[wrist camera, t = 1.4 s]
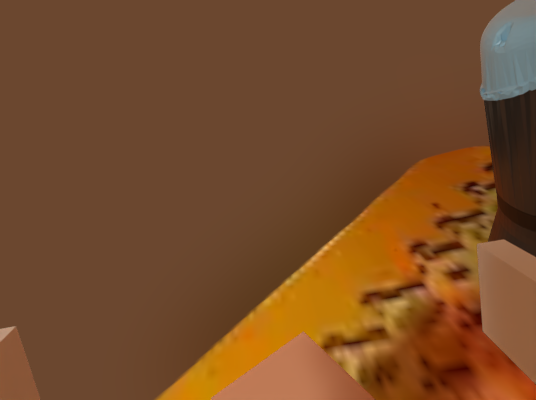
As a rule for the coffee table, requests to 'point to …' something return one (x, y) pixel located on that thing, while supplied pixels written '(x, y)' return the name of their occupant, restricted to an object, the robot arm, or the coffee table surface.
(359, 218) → the coffee table surface
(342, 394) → the terracotta block
